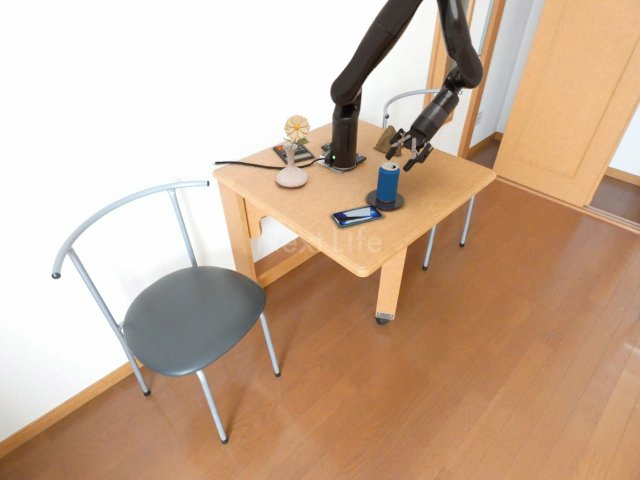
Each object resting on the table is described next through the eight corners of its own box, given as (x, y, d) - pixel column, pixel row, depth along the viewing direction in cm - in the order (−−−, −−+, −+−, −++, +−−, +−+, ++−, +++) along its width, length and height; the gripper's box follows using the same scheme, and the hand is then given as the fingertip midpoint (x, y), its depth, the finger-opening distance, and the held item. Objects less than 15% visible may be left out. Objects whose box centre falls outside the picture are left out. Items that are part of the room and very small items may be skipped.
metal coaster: (362, 207, 120) (363, 204, 120) (371, 188, 129) (371, 186, 128) (399, 214, 117) (400, 211, 117) (405, 194, 126) (406, 192, 125)
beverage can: (395, 204, 120) (400, 171, 112) (375, 202, 121) (378, 169, 113) (396, 194, 125) (401, 161, 117) (376, 192, 126) (380, 159, 118)
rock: (409, 150, 147) (400, 136, 153) (400, 136, 141) (391, 122, 147) (386, 166, 150) (378, 152, 156) (376, 153, 144) (368, 139, 151)
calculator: (299, 141, 156) (314, 155, 146) (299, 143, 157) (314, 157, 147) (273, 146, 152) (286, 162, 142) (273, 148, 153) (287, 164, 143)
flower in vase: (270, 187, 130) (263, 117, 114) (284, 172, 138) (279, 105, 122) (305, 194, 127) (302, 123, 111) (316, 178, 135) (316, 110, 119)
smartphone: (384, 216, 116) (340, 226, 111) (383, 219, 116) (340, 229, 112) (373, 204, 121) (330, 213, 117) (372, 206, 122) (330, 216, 117)
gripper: (408, 107, 115) (375, 150, 118) (441, 123, 106) (405, 168, 109) (418, 120, 121) (386, 161, 124) (451, 136, 111) (415, 179, 114)
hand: (395, 164), depth 116 cm, fingers open, 8 cm apart
